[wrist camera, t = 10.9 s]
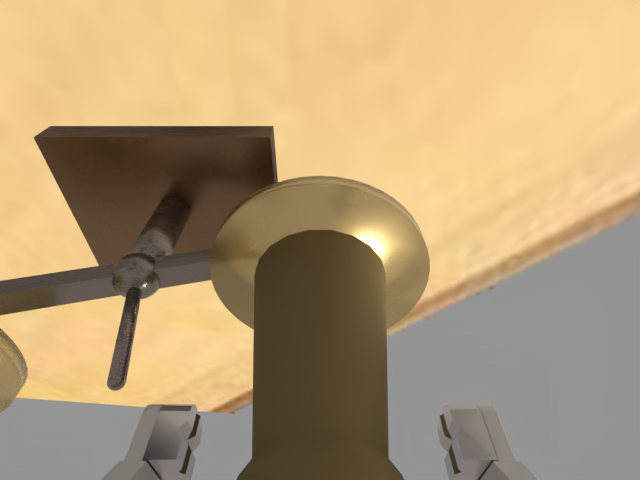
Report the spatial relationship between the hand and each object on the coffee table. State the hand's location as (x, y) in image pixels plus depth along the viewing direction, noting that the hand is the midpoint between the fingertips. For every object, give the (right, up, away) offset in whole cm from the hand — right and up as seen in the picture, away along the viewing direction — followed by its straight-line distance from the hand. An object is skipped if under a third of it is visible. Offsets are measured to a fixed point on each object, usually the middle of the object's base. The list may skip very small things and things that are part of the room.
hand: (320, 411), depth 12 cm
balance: (-8, +8, +10) cm, 16 cm away
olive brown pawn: (0, +4, +5) cm, 6 cm away
